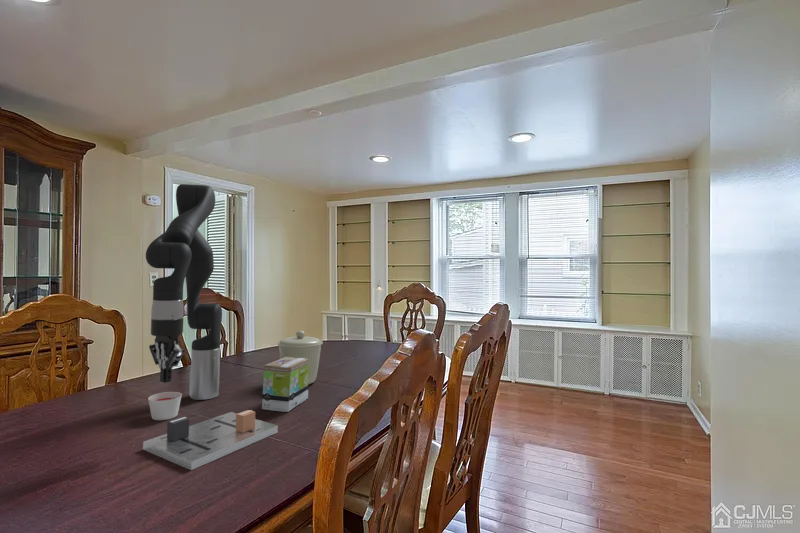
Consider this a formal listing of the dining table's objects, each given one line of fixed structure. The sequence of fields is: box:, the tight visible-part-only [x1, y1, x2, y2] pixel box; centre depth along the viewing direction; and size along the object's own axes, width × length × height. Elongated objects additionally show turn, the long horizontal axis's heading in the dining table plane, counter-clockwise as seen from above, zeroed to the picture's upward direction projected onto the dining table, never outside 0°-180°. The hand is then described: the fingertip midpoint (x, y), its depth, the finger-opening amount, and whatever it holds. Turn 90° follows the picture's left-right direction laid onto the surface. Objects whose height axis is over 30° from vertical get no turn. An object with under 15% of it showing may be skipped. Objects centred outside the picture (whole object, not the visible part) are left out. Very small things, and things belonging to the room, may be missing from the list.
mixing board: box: [142, 411, 279, 471], centre depth 110 cm, size 20×26×2 cm
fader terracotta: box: [236, 409, 256, 433], centre depth 113 cm, size 3×4×5 cm
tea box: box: [261, 357, 310, 413], centre depth 141 cm, size 15×10×15 cm
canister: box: [276, 330, 324, 385], centre depth 167 cm, size 18×18×21 cm
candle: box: [147, 391, 183, 421], centre depth 127 cm, size 9×9×6 cm
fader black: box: [166, 416, 190, 441], centre depth 107 cm, size 3×4×5 cm
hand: (165, 381), depth 110 cm, fingers closed
